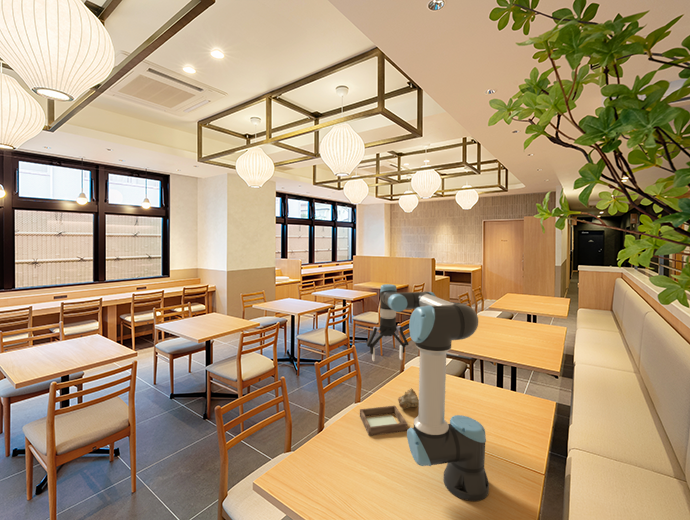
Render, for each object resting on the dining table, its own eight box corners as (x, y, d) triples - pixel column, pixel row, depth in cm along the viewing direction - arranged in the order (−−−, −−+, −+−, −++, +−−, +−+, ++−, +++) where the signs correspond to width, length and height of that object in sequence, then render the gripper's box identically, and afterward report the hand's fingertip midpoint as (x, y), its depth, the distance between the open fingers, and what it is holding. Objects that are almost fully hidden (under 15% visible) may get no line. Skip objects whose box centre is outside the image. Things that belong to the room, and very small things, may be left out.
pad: (400, 428, 152) (400, 427, 152) (372, 431, 149) (372, 431, 149) (391, 415, 162) (391, 414, 162) (366, 418, 160) (366, 417, 160)
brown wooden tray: (407, 431, 150) (407, 423, 150) (368, 435, 146) (368, 428, 146) (395, 412, 165) (395, 405, 165) (359, 416, 162) (359, 409, 161)
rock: (420, 414, 164) (420, 394, 163) (399, 413, 164) (399, 394, 163) (415, 401, 176) (416, 383, 175) (396, 401, 176) (396, 383, 175)
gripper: (410, 314, 165) (409, 355, 167) (360, 315, 162) (360, 357, 164) (415, 318, 158) (414, 361, 159) (363, 319, 155) (363, 363, 157)
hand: (387, 359), depth 162 cm, fingers open, 13 cm apart
